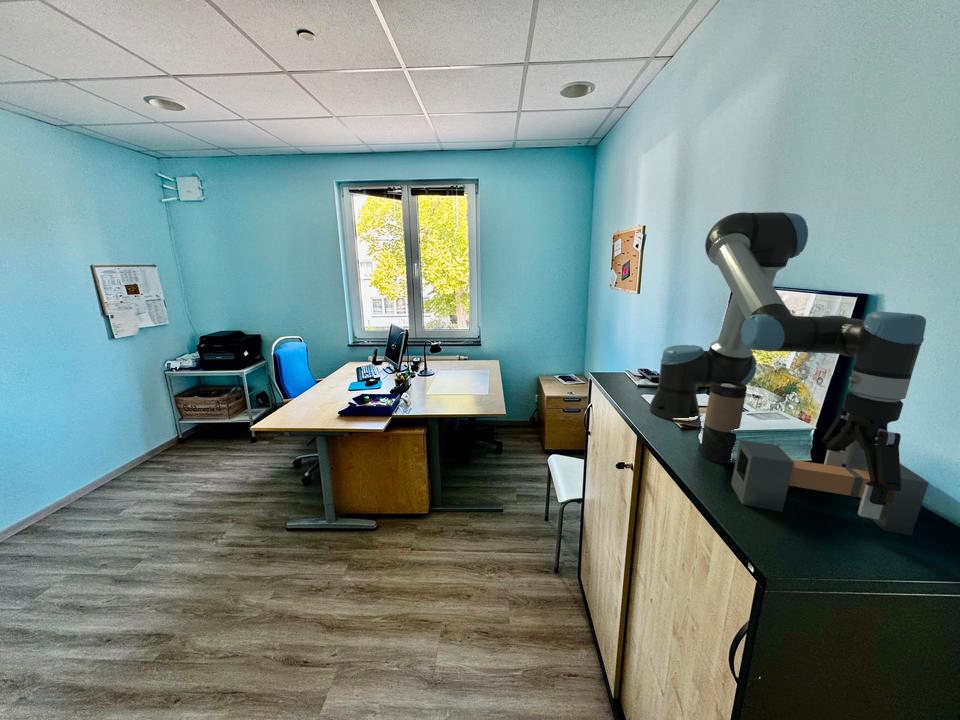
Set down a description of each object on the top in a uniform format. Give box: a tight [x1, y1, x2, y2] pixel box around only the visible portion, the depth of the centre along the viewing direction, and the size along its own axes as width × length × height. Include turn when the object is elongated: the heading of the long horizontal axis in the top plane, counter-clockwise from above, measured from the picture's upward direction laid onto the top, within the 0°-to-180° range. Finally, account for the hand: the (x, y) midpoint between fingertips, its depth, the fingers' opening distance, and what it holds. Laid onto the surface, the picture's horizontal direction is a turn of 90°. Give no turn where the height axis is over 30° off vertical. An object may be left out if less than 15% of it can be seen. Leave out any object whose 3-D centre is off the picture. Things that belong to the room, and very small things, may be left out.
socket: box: [858, 463, 930, 537], centre depth 73 cm, size 8×4×11 cm, turn 161°
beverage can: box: [839, 440, 876, 471], centre depth 83 cm, size 5×5×15 cm
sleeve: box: [730, 439, 794, 513], centre depth 80 cm, size 8×7×11 cm
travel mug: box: [700, 380, 748, 465], centre depth 96 cm, size 8×8×20 cm
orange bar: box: [788, 459, 890, 502], centre depth 76 cm, size 4×22×4 cm, turn 71°
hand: (846, 496), depth 75 cm, fingers open, 13 cm apart
